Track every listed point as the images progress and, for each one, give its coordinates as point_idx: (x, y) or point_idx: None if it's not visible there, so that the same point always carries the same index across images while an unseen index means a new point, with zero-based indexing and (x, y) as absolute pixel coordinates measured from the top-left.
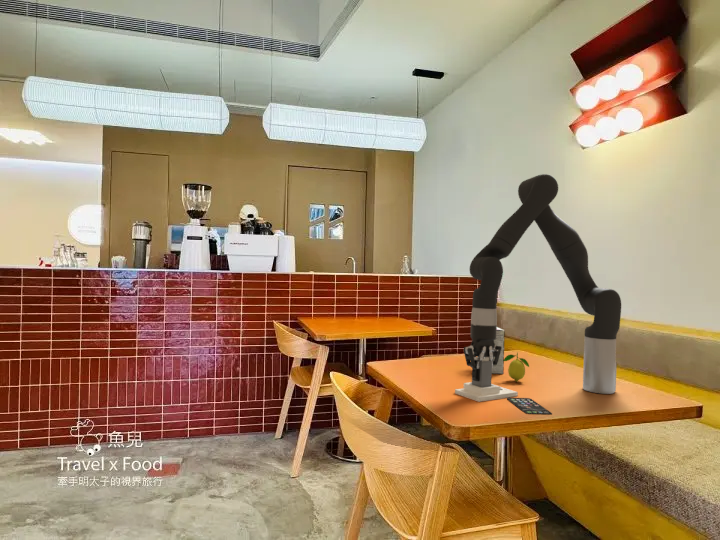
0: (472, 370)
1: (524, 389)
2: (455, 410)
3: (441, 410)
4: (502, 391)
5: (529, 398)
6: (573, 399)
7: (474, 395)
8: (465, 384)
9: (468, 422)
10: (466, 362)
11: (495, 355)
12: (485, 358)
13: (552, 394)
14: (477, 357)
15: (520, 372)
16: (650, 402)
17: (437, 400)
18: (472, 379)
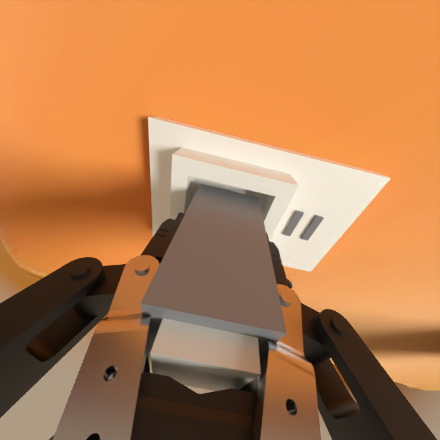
0: (146, 248)
1: (427, 248)
2: (53, 229)
3: (14, 210)
4: (282, 246)
5: (290, 287)
6: (360, 325)
7: (157, 218)
8: (172, 166)
9: (49, 270)
10: (44, 278)
11: (336, 432)
12: (189, 384)
13: (390, 300)
14: (151, 361)
15: None
16: (413, 372)
17: (31, 142)
18: (193, 200)
